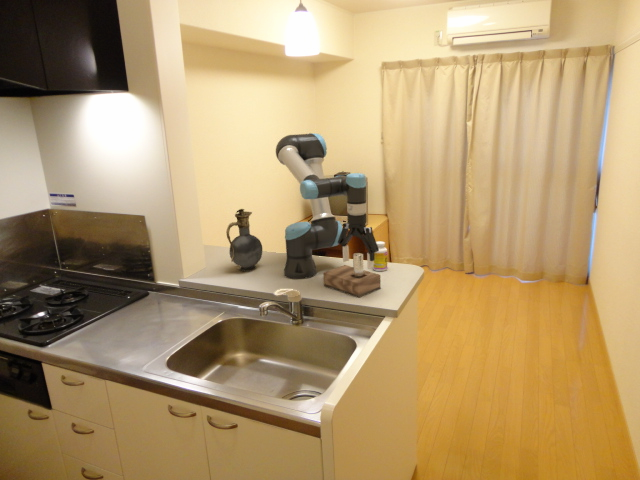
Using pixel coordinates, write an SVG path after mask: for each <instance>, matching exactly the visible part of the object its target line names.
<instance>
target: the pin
mask: <svg viewBox="0 0 640 480" xmlns="http://www.w3.org/2000/svg"><path fill="white" fill-rule="evenodd" d="M352 259H353V260H352V262H353V266H352V267H353V269H354V277H355V278H358V279H360V278H362V277H363V270H364V253H360V252H355V253H353V254H352Z"/></svg>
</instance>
